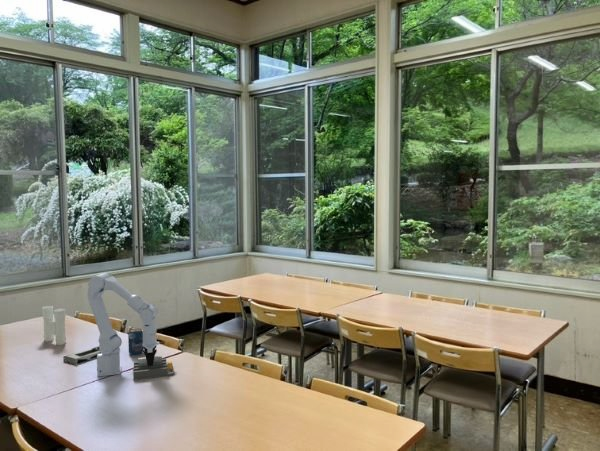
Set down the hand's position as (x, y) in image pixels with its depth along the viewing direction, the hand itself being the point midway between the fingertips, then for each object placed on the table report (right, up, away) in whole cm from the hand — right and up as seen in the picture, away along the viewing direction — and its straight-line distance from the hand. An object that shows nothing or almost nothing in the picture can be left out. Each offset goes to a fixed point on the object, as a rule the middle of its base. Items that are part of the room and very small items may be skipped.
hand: (150, 363), depth 208 cm
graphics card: (-35, -4, +23) cm, 42 cm away
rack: (+1, -4, +1) cm, 4 cm away
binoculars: (-66, -2, +45) cm, 80 cm away
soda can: (-15, -3, +25) cm, 29 cm away
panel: (0, -3, 0) cm, 3 cm away
